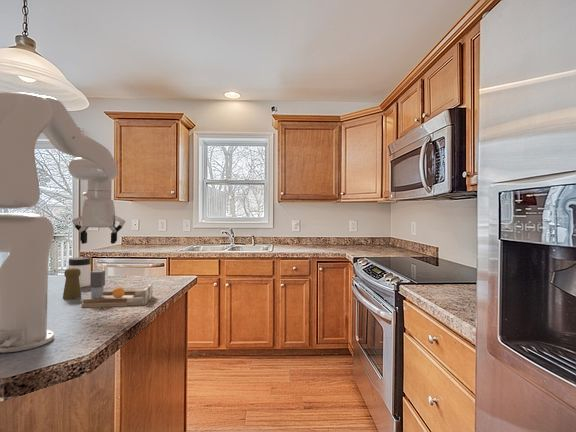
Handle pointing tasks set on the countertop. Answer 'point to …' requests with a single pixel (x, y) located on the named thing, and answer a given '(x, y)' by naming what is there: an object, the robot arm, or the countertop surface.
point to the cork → (72, 284)
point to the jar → (82, 269)
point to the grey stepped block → (97, 284)
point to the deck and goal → (125, 300)
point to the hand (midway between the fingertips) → (98, 243)
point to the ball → (118, 292)
